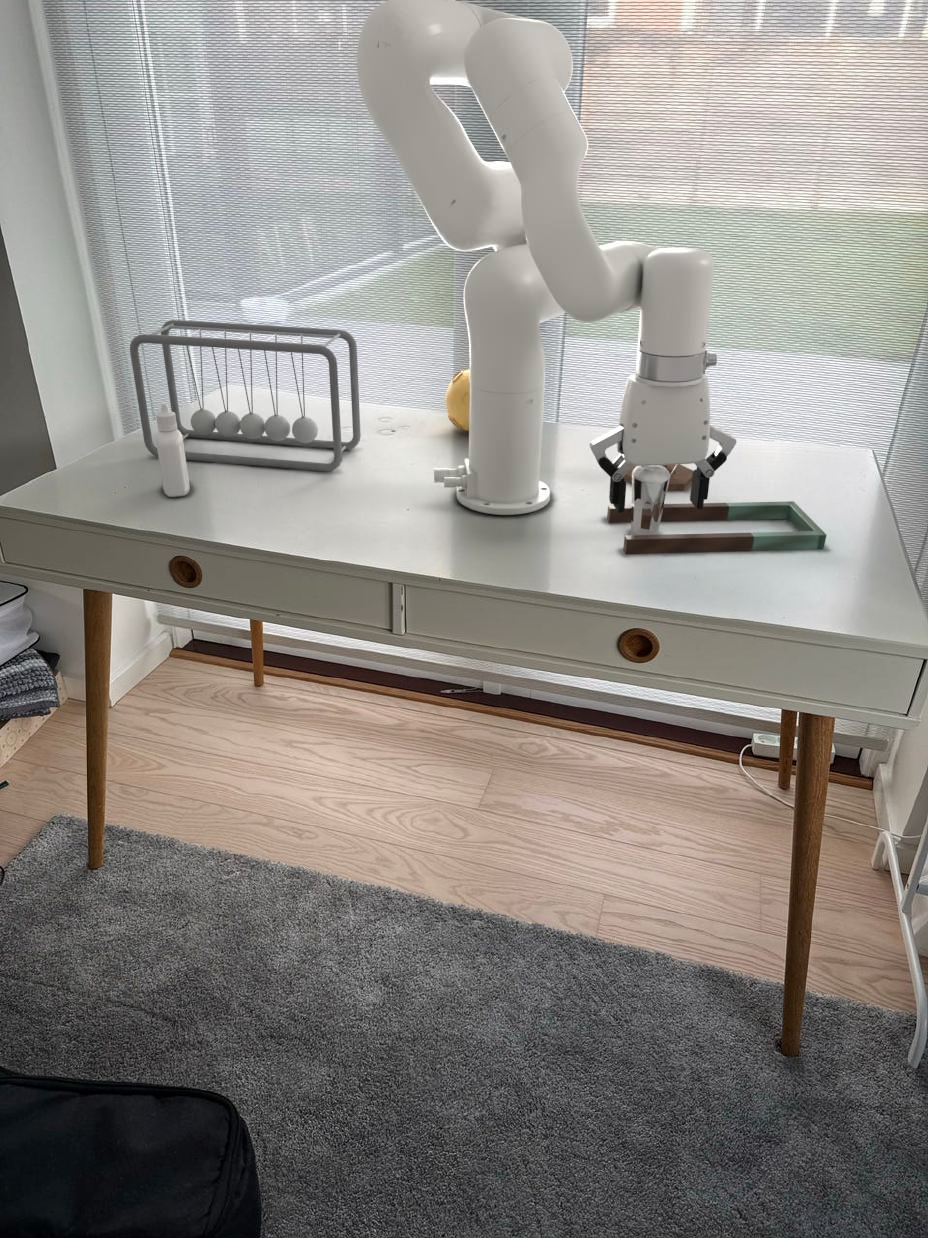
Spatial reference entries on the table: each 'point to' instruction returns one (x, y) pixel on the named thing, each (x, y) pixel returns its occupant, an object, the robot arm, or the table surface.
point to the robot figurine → (672, 477)
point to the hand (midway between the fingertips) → (657, 506)
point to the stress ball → (459, 400)
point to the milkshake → (648, 498)
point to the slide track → (802, 539)
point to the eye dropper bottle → (171, 454)
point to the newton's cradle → (251, 422)
